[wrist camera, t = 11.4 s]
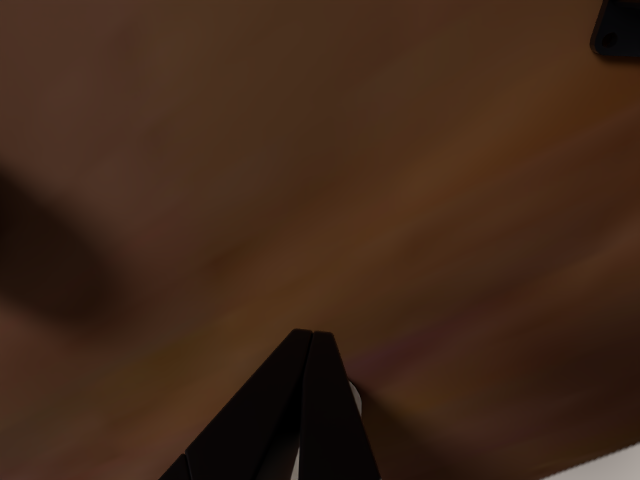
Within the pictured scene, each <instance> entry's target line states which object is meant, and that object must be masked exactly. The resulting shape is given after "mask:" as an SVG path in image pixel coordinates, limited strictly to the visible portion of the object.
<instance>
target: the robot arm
mask: <svg viewBox="0 0 640 480" xmlns="http://www.w3.org/2000/svg"><path fill="white" fill-rule="evenodd" d="M608 33H611V34H612V40H611V42H610V43H609V44H608V45H607V46H604V47H603V45H602V40H603V38H604V36H605V35H607V34H608ZM590 48H591V50H592V51H593V52H594V53H598V54H601V55H609V56H635V57H640V0H603V3H602V6H601V9H600V12H599V15H598V18H597V21H596V24H595V27H594V30H593V33H592V36H591V39H590ZM298 450H299V470H298V480H381V476H380V473H379V470H378V467H377V464H376V461H375V458H374V455H373V452H372V449H371V446H370V443H369V440H368V437H367V434H366V431H365V428H364V425H363V422H362V419H361V416H360V413H359V410H358V407H357V404H356V401H355V398H354V395H353V392H352V389H351V386H350V383H349V380H348V377H347V374H346V371H345V368H344V365H343V362H342V359H341V356H340V353H339V350H338V347H337V344H336V341H335V338H334V335H333V334H332V333H331V332H324V331H314V333H313V332H312V331H311V330H305V329H294V330H292V331H291V332H290V333H289V335H288V336H287V337H286V338H285V339H284V340H283V341H282V342H281V344H280V345H279V346H278V347H277V348H276V349H275V350H274V351H273V352H272V354H271V355H270V356H269V357H268V358H267V359H266V360H265V361H264V363H263V364H262V365H261V366H260V367H259V368H258V369H257V370H256V372H255V373H254V374H253V375H252V376H251V377H250V378H249V379H248V380H247V382H246V383H245V384H244V385H243V386H242V387H241V388H240V389H239V391H238V392H237V393H236V394H235V395H234V396H233V397H232V398H231V399H230V401H229V402H228V403H227V404H226V405H225V406H224V407H223V408H222V410H221V411H220V412H219V413H218V414H217V415H216V416H215V417H214V419H213V420H212V421H211V422H210V423H209V424H208V425H207V426H206V427H205V429H204V430H203V431H202V432H201V433H200V434H199V435H198V436H197V438H196V439H195V440H194V441H193V442H192V443H191V444H190V445H189V446H188V448H187V449H186V450H185V454H181V455H180V456H179V457H178V458H177V460H176V461H175V462H174V463H173V464H172V465H171V466H170V468H169V469H168V470H167V471H166V472H165V473H164V474H163V475H162V476H161V477H160V478H159V479H158V480H291V476H292V473H293V469H294V465H295V461H296V457H297V454H298Z"/></svg>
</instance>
